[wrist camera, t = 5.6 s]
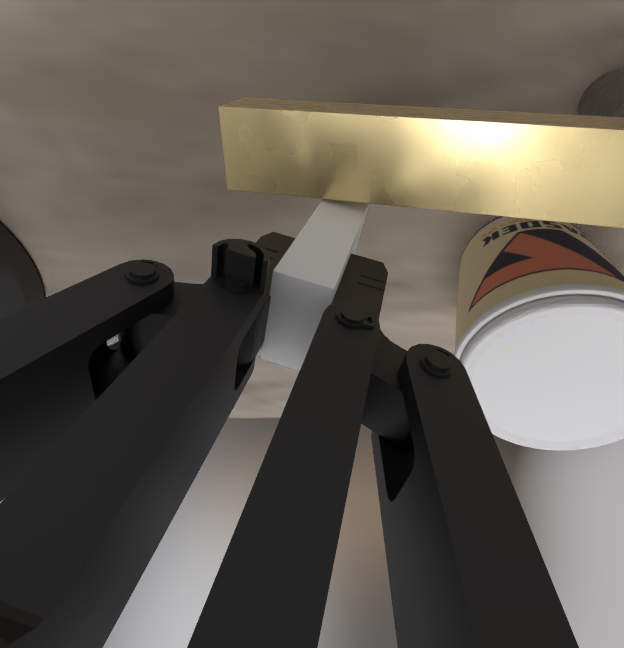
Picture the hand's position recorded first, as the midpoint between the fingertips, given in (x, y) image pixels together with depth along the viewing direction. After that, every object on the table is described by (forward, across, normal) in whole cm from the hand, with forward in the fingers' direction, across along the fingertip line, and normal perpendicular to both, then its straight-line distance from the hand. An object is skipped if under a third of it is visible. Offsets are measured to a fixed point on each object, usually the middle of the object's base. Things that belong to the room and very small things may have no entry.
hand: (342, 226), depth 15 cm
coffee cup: (+14, +11, -5) cm, 18 cm away
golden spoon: (+1, +5, +4) cm, 6 cm away
